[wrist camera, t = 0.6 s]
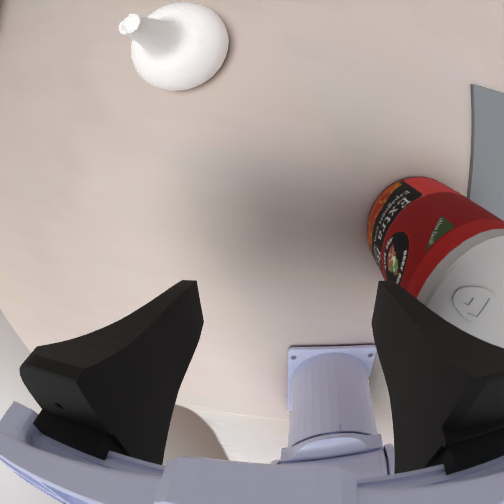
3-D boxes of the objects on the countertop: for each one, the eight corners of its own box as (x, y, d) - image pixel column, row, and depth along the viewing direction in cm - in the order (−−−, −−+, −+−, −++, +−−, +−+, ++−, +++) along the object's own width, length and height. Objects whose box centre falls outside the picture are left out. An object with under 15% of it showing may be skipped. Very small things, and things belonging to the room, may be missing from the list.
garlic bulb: (220, 2, 15) (180, -56, 8) (243, 76, 17) (208, 37, 10) (139, 35, 17) (72, 2, 9) (157, 106, 19) (85, 95, 11)
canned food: (375, 163, 19) (452, 218, 9) (468, 187, 18) (565, 249, 8) (353, 265, 22) (387, 376, 12) (441, 277, 21) (502, 372, 12)
